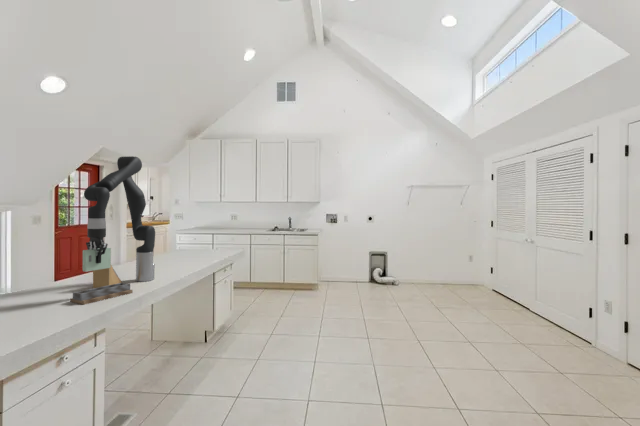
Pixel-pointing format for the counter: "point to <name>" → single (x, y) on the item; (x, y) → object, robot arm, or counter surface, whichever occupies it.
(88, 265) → the door panel
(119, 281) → the sandwich container
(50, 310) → the counter surface
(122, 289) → the door track
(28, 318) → the counter surface
